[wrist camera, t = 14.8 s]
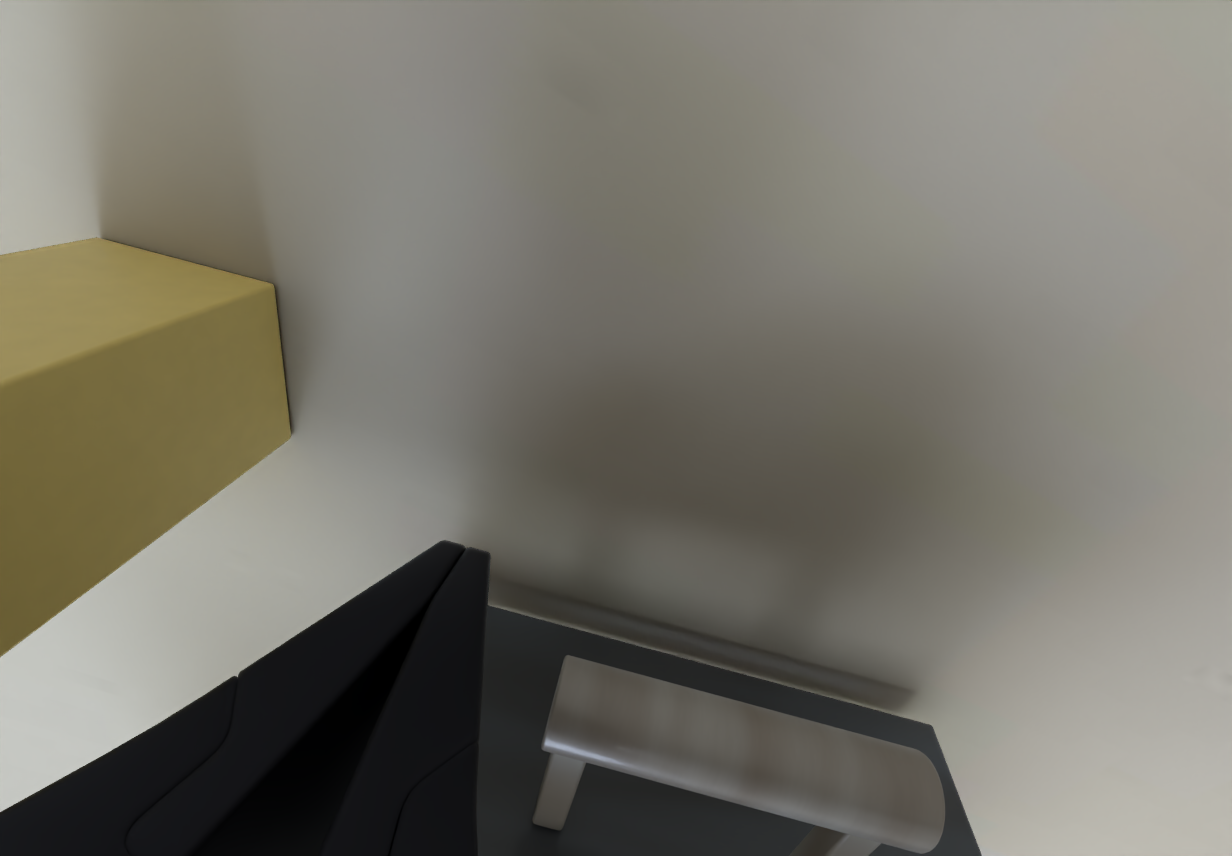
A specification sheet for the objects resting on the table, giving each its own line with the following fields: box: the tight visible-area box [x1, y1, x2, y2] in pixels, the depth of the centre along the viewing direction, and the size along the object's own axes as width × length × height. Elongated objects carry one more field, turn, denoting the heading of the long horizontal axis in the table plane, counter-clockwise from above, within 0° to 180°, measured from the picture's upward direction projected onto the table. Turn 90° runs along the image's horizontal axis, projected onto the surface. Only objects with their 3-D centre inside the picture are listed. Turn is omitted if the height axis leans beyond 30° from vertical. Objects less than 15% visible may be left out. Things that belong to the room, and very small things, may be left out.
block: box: [0, 238, 291, 657], centre depth 9 cm, size 4×4×7 cm
